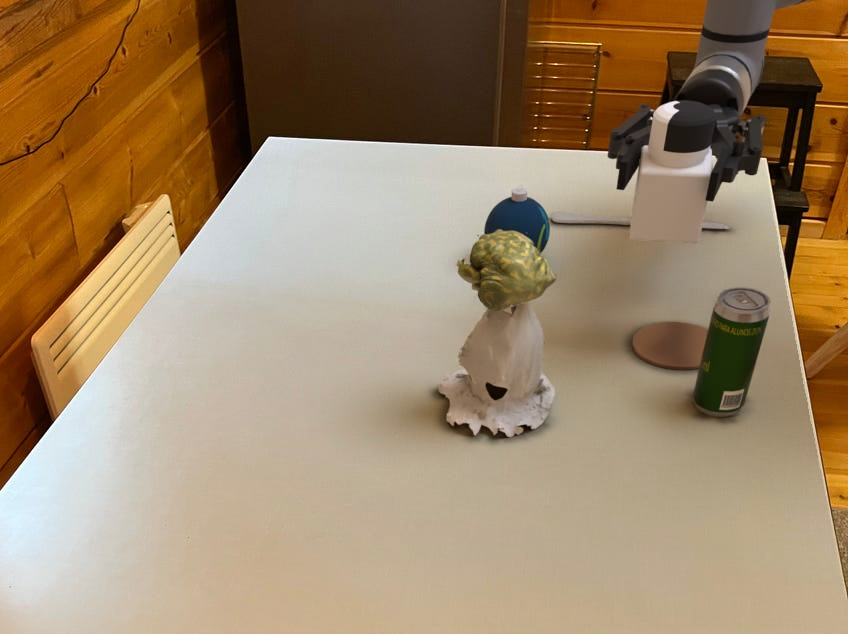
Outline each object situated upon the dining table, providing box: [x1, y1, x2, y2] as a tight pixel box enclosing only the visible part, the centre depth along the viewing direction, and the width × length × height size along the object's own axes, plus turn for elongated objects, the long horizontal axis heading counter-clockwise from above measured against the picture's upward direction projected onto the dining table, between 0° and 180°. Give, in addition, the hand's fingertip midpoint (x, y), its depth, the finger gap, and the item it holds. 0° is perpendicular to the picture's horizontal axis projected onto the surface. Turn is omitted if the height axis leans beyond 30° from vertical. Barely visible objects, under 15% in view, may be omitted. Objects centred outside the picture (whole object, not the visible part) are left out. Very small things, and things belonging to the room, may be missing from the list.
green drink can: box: [692, 286, 772, 418], centre depth 98 cm, size 5×5×12 cm
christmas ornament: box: [483, 184, 551, 255], centre depth 123 cm, size 8×8×10 cm
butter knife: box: [550, 211, 730, 230], centre depth 133 cm, size 1×24×3 cm
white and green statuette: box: [438, 229, 557, 438], centre depth 98 cm, size 12×13×18 cm
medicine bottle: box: [629, 100, 716, 244], centre depth 99 cm, size 7×7×12 cm
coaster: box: [631, 321, 708, 371], centre depth 111 cm, size 10×10×1 cm
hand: (666, 181), depth 95 cm, fingers closed on medicine bottle, 8 cm apart
